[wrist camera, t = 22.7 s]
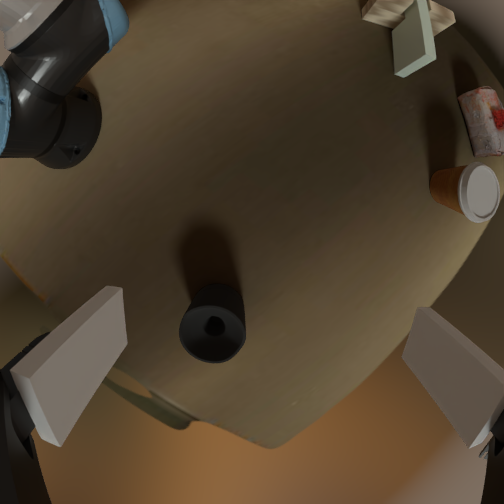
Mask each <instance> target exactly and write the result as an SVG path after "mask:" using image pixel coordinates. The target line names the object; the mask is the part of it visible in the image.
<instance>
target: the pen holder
mask: <svg viewBox="0 0 504 504" xmlns="http://www.w3.org/2000/svg"><path fill="white" fill-rule="evenodd" d="M179 337H180V341H181V343H182V345H183V347H184V348H185V350H186V351H187V352H188V353H189V354H190V355H192V356H193V357H195V358H196V359H198V360H201V361H204V362H208V363H222V362H226V361H228V360H230V359H231V358H232V357H234V356H235V355H236V354H237V353H238V352H239V350H240V349H241V348H242V346H243V345H244V343H245V340H246V326H245V311H244V304H243V301H242V298H241V296H240V295H239V294H238V293H237V292H236V291H235V290H234V289H233V288H231V287H229V286H226V285H223V284H212V285H208V286H206V287H204V288H202V289H201V290H200V291H199V292H198V293H197V294H196V296H195V297H194V299H193V301H192V302H191V304H190V306H189V308H188V309H187V311H186V313H185V314H184V316H183V318H182V321H181V324H180V328H179Z"/></svg>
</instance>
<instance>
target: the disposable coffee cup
mask: <svg viewBox="0 0 504 504" xmlns="http://www.w3.org/2000/svg"><path fill="white" fill-rule="evenodd" d="M430 192H431V195H432V197H433V199H434V200H435V201H436V202H438V203H440V204H442V205H444V206H447V207H449V208H451V209H453V210H455V211H457V212H459V213H461V214H463V215H465V216H466V217H467V218H468V219H469V220H471V221H473V222H476V223H480V222H483V221H487V220H489V219H490V218H491V217H492V216H493V215H494V214H495V212H496V210H497V207H498V204H499V199H500V188H499V183H498V179H497V177H496V175H495V173H494V172H493V171H492V169H491V168H489V167H487V166H486V165H485V164H483V163H481V162H473V163H471V164H469V165H466V166H460V167H454V168H448V169H442V170H438V171H436V172H435V173H434V174H433V175H432V177H431V180H430Z"/></svg>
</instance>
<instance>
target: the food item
mask: <svg viewBox="0 0 504 504" xmlns="http://www.w3.org/2000/svg"><path fill="white" fill-rule="evenodd" d="M458 101H459V103H460V106H461V109H462V112H463V115H464V118H465V122H466V125H467V128H468V132H469V136H470V140H471V143H472V148H473V152H474V156H475V157H483V156H485V157H487V156H501V155H503V154H504V109H503V106H502V103H501V102H500V100H499V99H498V96H497V93H496V91H494V90H492V88H491V87H489V86H483V87H479V88H477V89H475V90H472V91H469V92H466V93H464V94H462V95H461V96H459V97H458Z"/></svg>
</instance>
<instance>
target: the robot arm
mask: <svg viewBox="0 0 504 504" xmlns="http://www.w3.org/2000/svg"><path fill="white" fill-rule="evenodd" d="M128 28H129V19H128V16H127V13H126V11H125V9H124V8H123V6H122V4H121V3H120V1H119V0H0V30H1V31H3V32H4V46H5V49H7V50H9V51H11V54H10V55H9V57H8V58H7V59H6V61H5V62H4V63H3V65H2V66H0V158H34V159H36V160H37V161H39V162H40V163H42V164H43V165H45V166H47V167H49V168H53V169H67V168H70V167H73V166H75V165H77V164H78V163H80V162H81V161H82V160H83V159H84V158H85V157H86V156H87V155H88V154H89V153H90V151H91V150H92V148H93V147H94V145H95V143H96V141H97V138H98V136H99V132H100V128H101V119H102V117H101V109H100V105H99V103H98V101H97V99H96V97H95V96H94V95H93V94H92V93H90V92H89V91H87V90H85V89H82V88H80V87H75V86H76V84H77V83H78V82H79V81H80V80H81V79H82V78H83V77H84V75H85V74H86V73H87V72H88V71H89V70H90V69H91V68H92V67H93V66H94V65H95V64H96V63H97V62H98V61H99V60H100V59H101V58H102V57H103V56H104V55H105V54H106V53H109V52H110V51H111V50H112V48H113V46H114V45H115V44H116V43H117V42H118V41H119V40H120V39H121V38H122V37H123V36H124V35H125V34H126V33H127V31H128ZM127 344H128V343H127V335H126V326H125V317H124V305H123V292H122V288H120V287H113V286H106V287H104V288H103V289H102V290H101V291H100V292H98V293H97V294H96V295H95V296H93V297H92V298H91V299H90V300H89V301H87V302H86V303H85V304H84V305H82V306H81V307H80V308H79V309H78V310H76V311H75V312H74V313H73V314H72V315H71V316H69V317H68V318H67V319H66V320H65V321H64V322H62V323H61V324H60V325H59V326H58V327H57V328H55V329H54V330H53V331H52V332H51V333H50V332H47V333H45V334H43V335H41V336H39V337H37V338H36V339H35V340H33V341H32V342H31V343H30V344H29V346H26V347H25V348H24V349H23V350H22V352H20V353H18V354H17V355H16V356H15V357H14V358H13V359H12V360H11V361H10V362H9V363H7V364H6V365H5V366H4V367H3V368H2V369H1V370H0V504H52V503H51V500H50V498H49V495H48V492H47V489H46V485H45V482H44V479H43V476H42V472H41V468H40V465H39V461H38V457H37V453H36V449H35V444H34V440H33V438H32V436H31V434H30V433H31V432H32V430H33V429H34V428H35V427H36V429H37V431H38V433H39V435H40V437H41V438H42V439H43V440H45V441H47V442H49V443H52V444H54V445H56V446H59V447H61V446H62V444H63V443H64V441H65V439H66V438H67V436H68V434H69V432H70V431H71V429H72V428H73V426H74V425H75V423H76V421H77V420H78V418H79V416H80V415H81V413H82V412H83V410H84V408H85V407H86V405H87V404H88V402H89V401H90V399H91V397H92V396H93V394H94V393H95V391H96V390H97V388H98V387H99V385H100V384H101V382H102V381H103V379H104V378H105V376H106V375H107V373H108V372H109V370H110V368H111V367H112V366H113V364H114V363H115V361H116V360H117V358H118V357H119V355H120V354H121V352H122V351H123V349H124V348H125V346H126V345H127ZM402 359H403V360H404V361H405V362H406V364H407V365H408V366H409V368H410V369H411V370H412V372H413V373H414V374H415V375H416V377H417V378H418V379H419V380H420V382H421V383H422V385H423V386H424V387H425V388H426V390H427V391H428V393H429V394H430V395H431V397H432V398H433V399H434V401H435V402H436V403H437V405H438V406H439V407H440V409H441V410H442V412H443V413H444V414H445V415H446V417H447V418H448V420H449V421H450V423H451V424H452V426H453V427H454V428H455V430H456V431H457V432H458V434H459V435H460V437H461V438H462V440H463V441H464V443H465V444H466V446H467V447H468V448H471V447H473V446H476V445H478V444H480V443H482V442H483V440H484V439H485V437H486V436H487V435H488V433H489V432H490V431H491V432H492V433H493V437H492V438H491V439H490V441H489V442H488V443H487V445H486V446H485V447H484V449H483V450H482V451H481V453H480V455H479V457H482V455H483V454H484V453H485V452H487V451H488V453H487V455H486V456H485V457H484V459H487V468H486V476H485V483H484V489H483V495H482V500H481V504H504V369H503V368H501V367H500V366H499V365H498V364H497V363H496V362H495V361H493V360H492V359H491V358H490V357H489V356H488V355H487V354H486V353H484V352H483V351H482V350H481V349H480V348H479V347H477V346H476V345H475V344H474V343H473V342H472V341H470V340H469V339H468V338H467V337H466V336H464V335H463V334H462V333H461V332H460V331H458V330H457V329H456V328H455V327H454V326H452V325H451V324H450V323H449V322H447V321H446V320H445V319H444V318H442V317H441V316H440V315H439V314H437V313H436V312H435V311H434V310H432V309H431V308H430V307H417V310H416V314H415V317H414V321H413V324H412V327H411V331H410V334H409V337H408V340H407V343H406V346H405V349H404V352H403V355H402Z"/></svg>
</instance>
